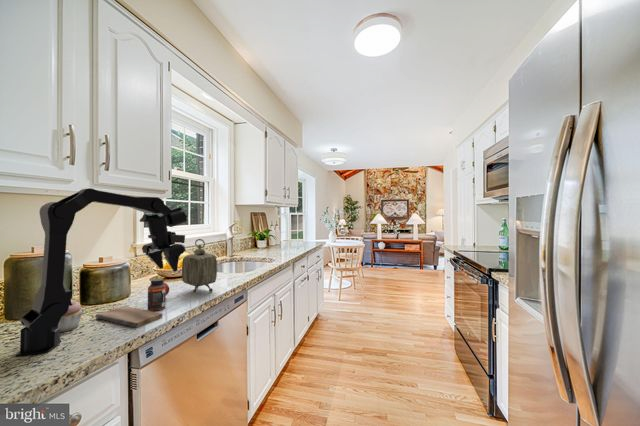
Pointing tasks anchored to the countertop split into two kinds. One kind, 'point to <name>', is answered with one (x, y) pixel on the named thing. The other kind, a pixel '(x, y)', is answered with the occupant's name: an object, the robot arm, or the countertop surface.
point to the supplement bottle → (156, 295)
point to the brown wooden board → (129, 316)
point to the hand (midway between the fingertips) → (168, 269)
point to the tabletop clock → (199, 268)
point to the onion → (166, 288)
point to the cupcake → (71, 317)
